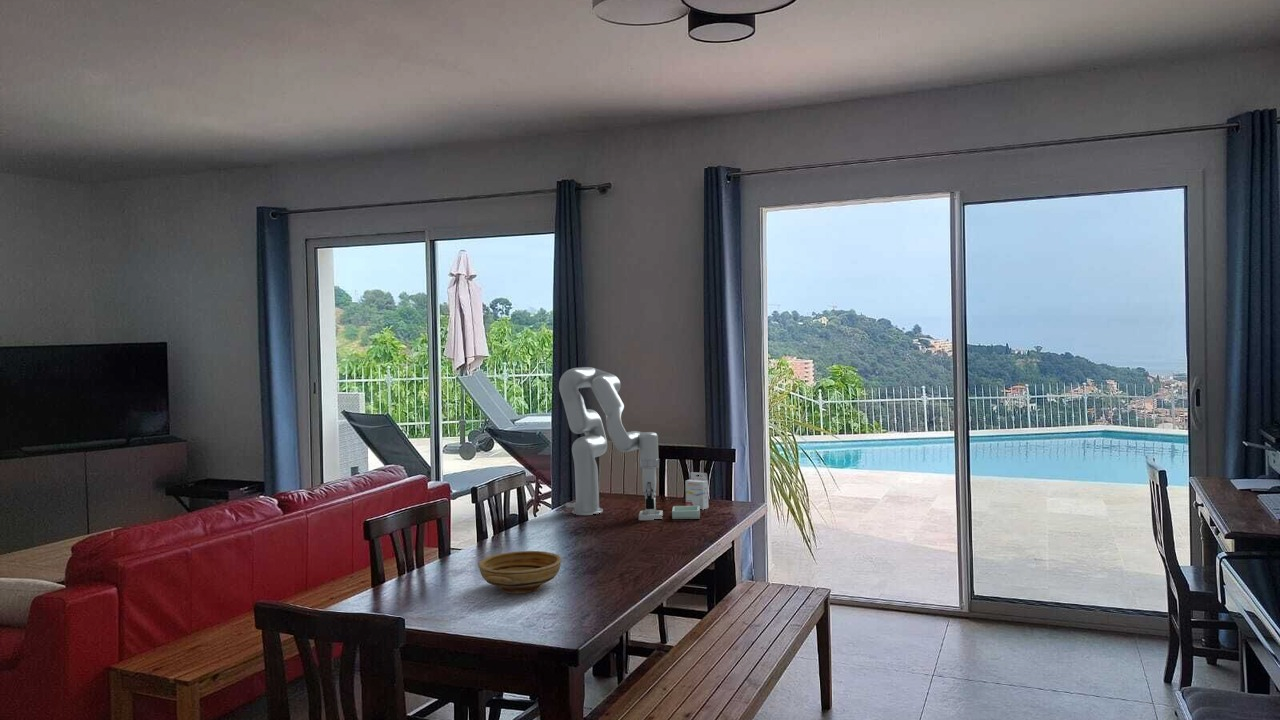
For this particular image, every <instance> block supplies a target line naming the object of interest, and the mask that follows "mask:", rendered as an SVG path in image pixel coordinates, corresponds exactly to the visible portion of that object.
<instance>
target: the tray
mask: <svg viewBox="0 0 1280 720" xmlns="http://www.w3.org/2000/svg"><path fill="white" fill-rule="evenodd" d="M671 518H672V519H701V510H700V506H686V505H673V506H672V510H671Z"/></svg>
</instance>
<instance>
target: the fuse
mask: <svg viewBox="0 0 1280 720" xmlns="http://www.w3.org/2000/svg"><path fill="white" fill-rule="evenodd" d="M655 496H657V493H656V491H655V492H654V493H653V499H654V509H646V508H645V511H646V515H656V511H657V508H656V504H657V503H656V501H655ZM644 498H645V503H644V504H646V492H645V493H644Z"/></svg>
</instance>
